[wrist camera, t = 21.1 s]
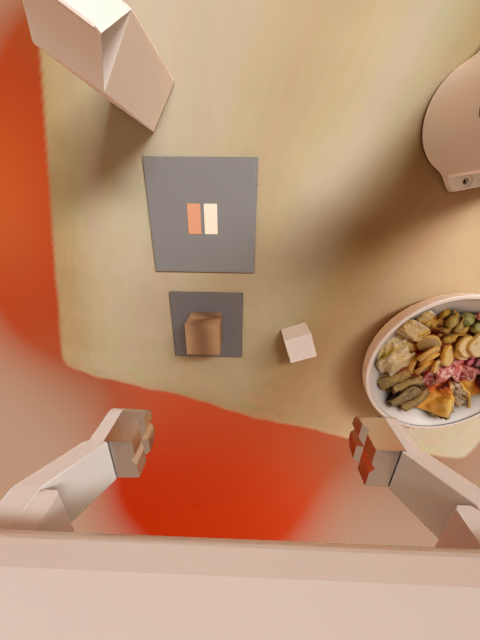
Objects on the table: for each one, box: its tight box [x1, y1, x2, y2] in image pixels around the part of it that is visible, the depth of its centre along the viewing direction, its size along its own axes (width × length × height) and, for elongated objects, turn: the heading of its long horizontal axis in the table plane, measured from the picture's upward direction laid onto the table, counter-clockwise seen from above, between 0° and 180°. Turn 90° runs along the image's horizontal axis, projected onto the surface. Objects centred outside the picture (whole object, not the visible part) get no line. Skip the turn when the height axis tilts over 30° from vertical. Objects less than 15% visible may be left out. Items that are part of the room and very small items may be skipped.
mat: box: [169, 292, 243, 357], centre depth 52 cm, size 14×14×1 cm
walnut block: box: [185, 312, 223, 355], centre depth 49 cm, size 6×6×6 cm
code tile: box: [142, 156, 258, 273], centre depth 44 cm, size 18×18×1 cm
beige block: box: [281, 323, 317, 363], centre depth 50 cm, size 5×5×5 cm
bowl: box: [362, 292, 480, 429], centre depth 50 cm, size 30×30×8 cm
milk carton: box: [23, 0, 174, 132], centre depth 29 cm, size 7×7×19 cm
